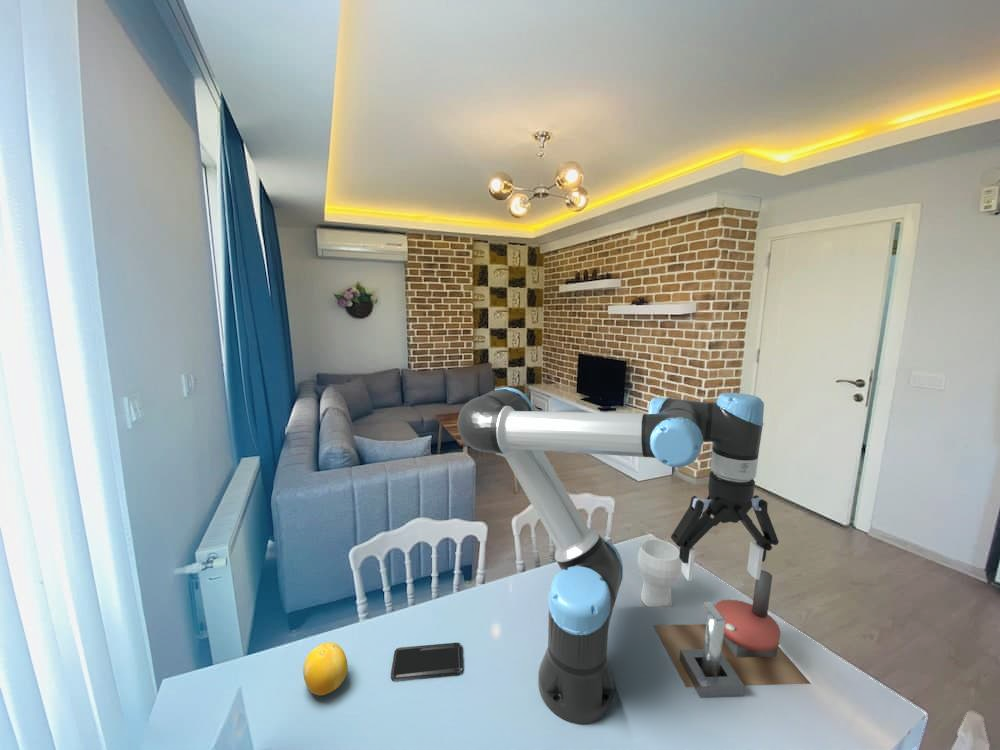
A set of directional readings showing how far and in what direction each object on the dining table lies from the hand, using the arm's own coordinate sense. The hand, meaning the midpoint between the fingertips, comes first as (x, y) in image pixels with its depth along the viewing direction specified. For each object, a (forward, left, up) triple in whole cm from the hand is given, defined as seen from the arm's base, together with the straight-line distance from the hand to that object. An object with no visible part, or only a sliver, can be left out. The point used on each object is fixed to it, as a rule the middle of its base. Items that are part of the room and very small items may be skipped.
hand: (719, 575), depth 80 cm
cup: (-1, +24, -25) cm, 34 cm away
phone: (-59, +6, -25) cm, 65 cm away
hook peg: (0, 0, -23) cm, 23 cm away
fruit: (-79, +2, -25) cm, 83 cm away
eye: (0, 0, -23) cm, 23 cm away
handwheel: (+13, +9, -20) cm, 25 cm away
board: (+7, +6, -24) cm, 26 cm away
